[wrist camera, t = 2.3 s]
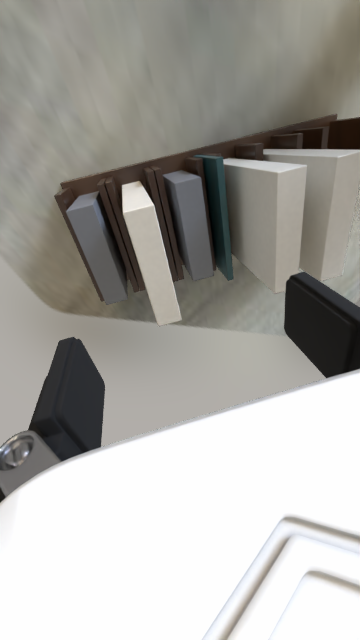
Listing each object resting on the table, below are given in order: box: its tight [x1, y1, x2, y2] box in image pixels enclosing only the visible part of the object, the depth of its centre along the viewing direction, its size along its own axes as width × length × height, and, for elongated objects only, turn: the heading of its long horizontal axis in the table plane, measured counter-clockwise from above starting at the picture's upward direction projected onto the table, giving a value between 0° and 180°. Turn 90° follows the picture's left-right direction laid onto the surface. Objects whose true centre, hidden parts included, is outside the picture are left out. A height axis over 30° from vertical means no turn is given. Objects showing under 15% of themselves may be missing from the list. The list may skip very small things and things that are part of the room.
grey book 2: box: [162, 170, 214, 281], centre depth 27 cm, size 2×9×8 cm, turn 12°
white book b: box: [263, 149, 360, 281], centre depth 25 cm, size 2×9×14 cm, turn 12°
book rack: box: [54, 114, 360, 301], centre depth 27 cm, size 30×12×9 cm, turn 102°
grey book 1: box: [66, 191, 128, 305], centre depth 26 cm, size 2×9×8 cm, turn 12°
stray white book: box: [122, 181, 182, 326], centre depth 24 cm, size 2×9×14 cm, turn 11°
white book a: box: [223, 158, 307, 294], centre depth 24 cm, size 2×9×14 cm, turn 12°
